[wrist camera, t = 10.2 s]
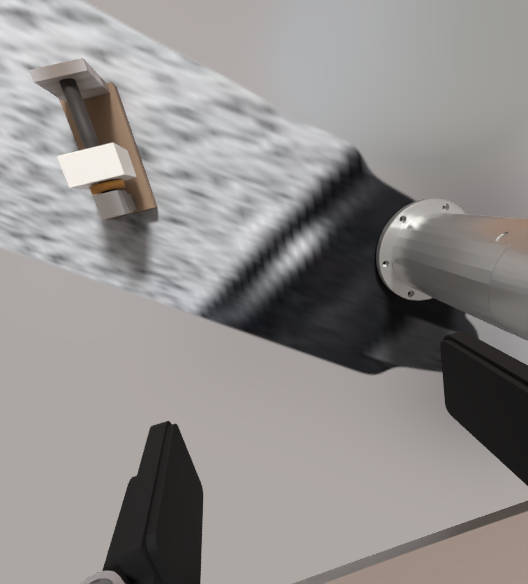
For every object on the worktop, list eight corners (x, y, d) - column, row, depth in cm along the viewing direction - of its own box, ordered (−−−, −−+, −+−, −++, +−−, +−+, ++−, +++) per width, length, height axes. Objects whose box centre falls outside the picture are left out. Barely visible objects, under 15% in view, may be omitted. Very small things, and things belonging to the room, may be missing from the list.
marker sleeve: (127, 150, 29) (113, 142, 25) (136, 177, 30) (124, 174, 26) (79, 162, 29) (56, 156, 25) (89, 189, 30) (69, 187, 26)
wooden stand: (116, 87, 31) (88, 55, 24) (157, 206, 35) (142, 209, 28) (64, 99, 31) (20, 70, 24) (111, 218, 34) (84, 224, 27)
